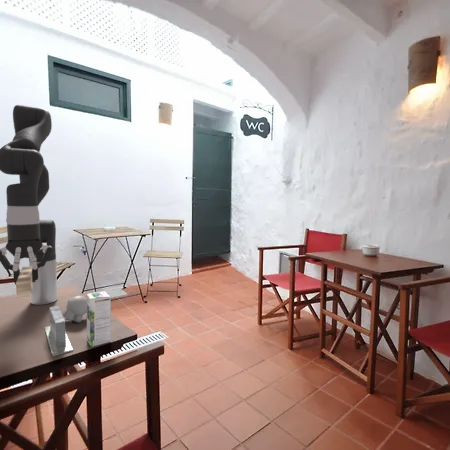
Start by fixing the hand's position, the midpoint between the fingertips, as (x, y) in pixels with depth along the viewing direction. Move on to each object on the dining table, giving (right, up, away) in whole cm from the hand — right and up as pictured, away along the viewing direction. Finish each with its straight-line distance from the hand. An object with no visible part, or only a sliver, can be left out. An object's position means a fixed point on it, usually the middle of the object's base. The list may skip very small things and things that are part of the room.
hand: (26, 282), depth 83 cm
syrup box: (+18, -19, +6) cm, 27 cm away
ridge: (+5, -19, +6) cm, 20 cm away
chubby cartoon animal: (+6, -17, +21) cm, 28 cm away
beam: (0, -2, 0) cm, 2 cm away
